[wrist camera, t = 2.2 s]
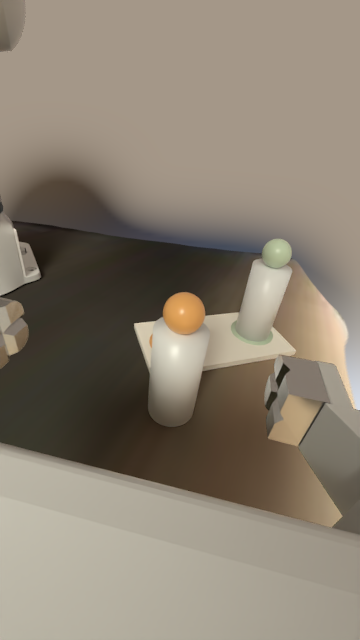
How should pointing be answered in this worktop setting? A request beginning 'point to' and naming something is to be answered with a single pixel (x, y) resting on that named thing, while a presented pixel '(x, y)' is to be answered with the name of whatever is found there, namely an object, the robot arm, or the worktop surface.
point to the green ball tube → (264, 291)
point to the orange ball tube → (177, 360)
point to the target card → (224, 343)
